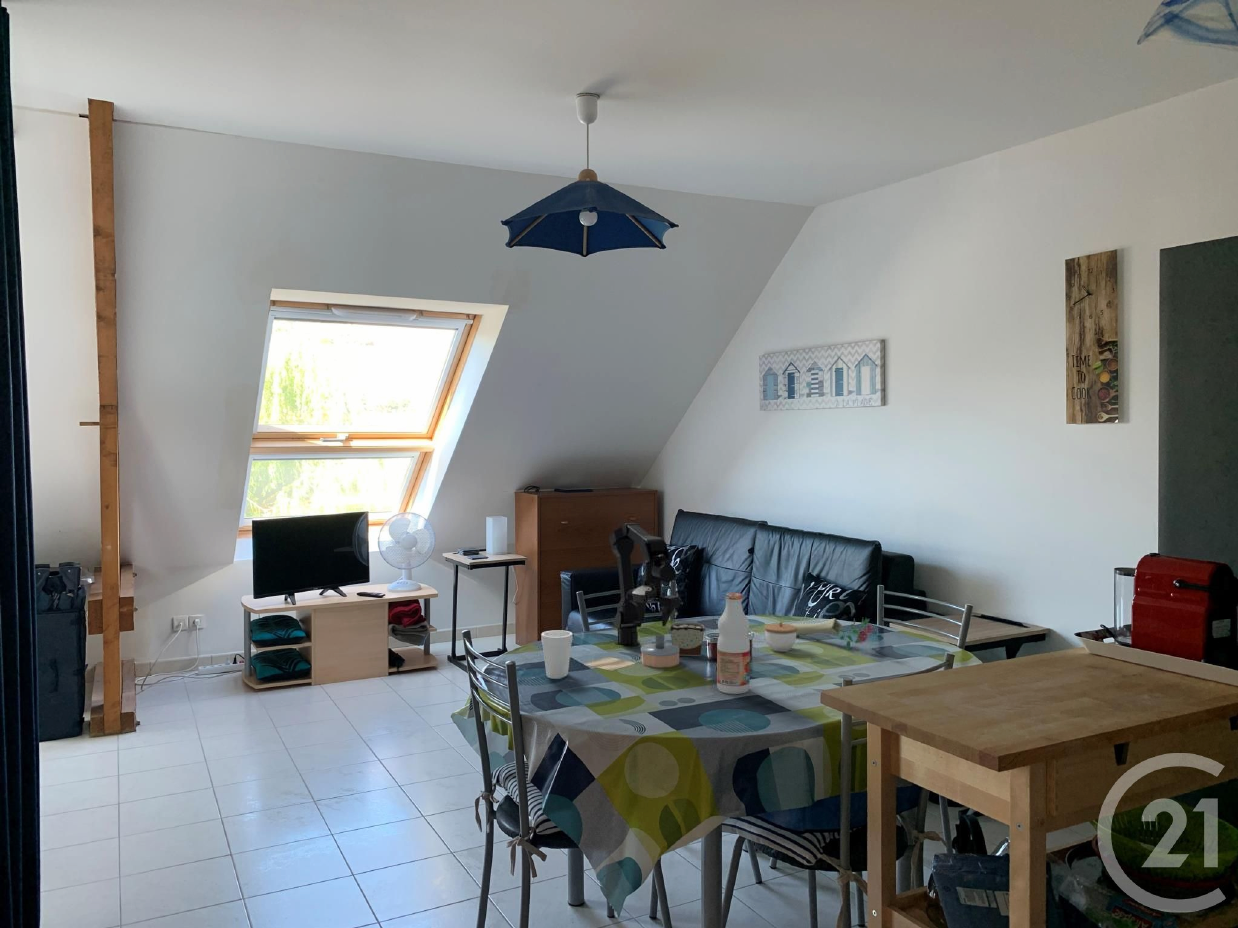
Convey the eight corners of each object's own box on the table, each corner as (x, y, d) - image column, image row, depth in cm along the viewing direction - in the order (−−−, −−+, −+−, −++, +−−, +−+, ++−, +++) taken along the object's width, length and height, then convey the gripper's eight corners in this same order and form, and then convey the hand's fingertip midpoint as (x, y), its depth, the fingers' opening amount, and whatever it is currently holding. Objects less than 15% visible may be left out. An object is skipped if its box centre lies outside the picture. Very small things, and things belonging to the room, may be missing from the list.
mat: (583, 665, 295) (583, 664, 295) (608, 657, 304) (608, 656, 304) (611, 672, 287) (611, 670, 287) (636, 664, 296) (636, 662, 296)
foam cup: (577, 673, 286) (577, 631, 285) (565, 681, 277) (565, 638, 276) (548, 670, 289) (548, 629, 288) (536, 678, 280) (536, 635, 280)
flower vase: (804, 656, 336) (886, 652, 310) (781, 651, 329) (864, 647, 302) (805, 623, 340) (886, 617, 313) (783, 617, 332) (864, 611, 306)
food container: (705, 651, 313) (705, 622, 312) (705, 656, 307) (705, 626, 306) (669, 650, 314) (669, 621, 313) (668, 655, 308) (668, 625, 307)
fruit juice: (712, 686, 272) (713, 592, 271) (742, 684, 274) (743, 590, 273) (723, 695, 263) (723, 598, 261) (754, 693, 265) (755, 596, 264)
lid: (632, 651, 297) (632, 635, 296) (656, 644, 306) (656, 629, 306) (663, 657, 289) (663, 642, 288) (687, 650, 298) (687, 635, 298)
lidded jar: (761, 651, 313) (761, 624, 312) (768, 644, 322) (768, 617, 322) (793, 654, 309) (793, 626, 308) (799, 647, 318) (799, 620, 318)
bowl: (634, 663, 297) (634, 651, 297) (657, 656, 306) (657, 644, 305) (663, 670, 289) (663, 657, 289) (685, 662, 298) (685, 650, 298)
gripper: (615, 576, 302) (615, 623, 303) (660, 584, 290) (659, 633, 291) (637, 571, 310) (636, 617, 312) (682, 579, 298) (681, 626, 300)
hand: (652, 623), depth 303 cm, fingers open, 9 cm apart
